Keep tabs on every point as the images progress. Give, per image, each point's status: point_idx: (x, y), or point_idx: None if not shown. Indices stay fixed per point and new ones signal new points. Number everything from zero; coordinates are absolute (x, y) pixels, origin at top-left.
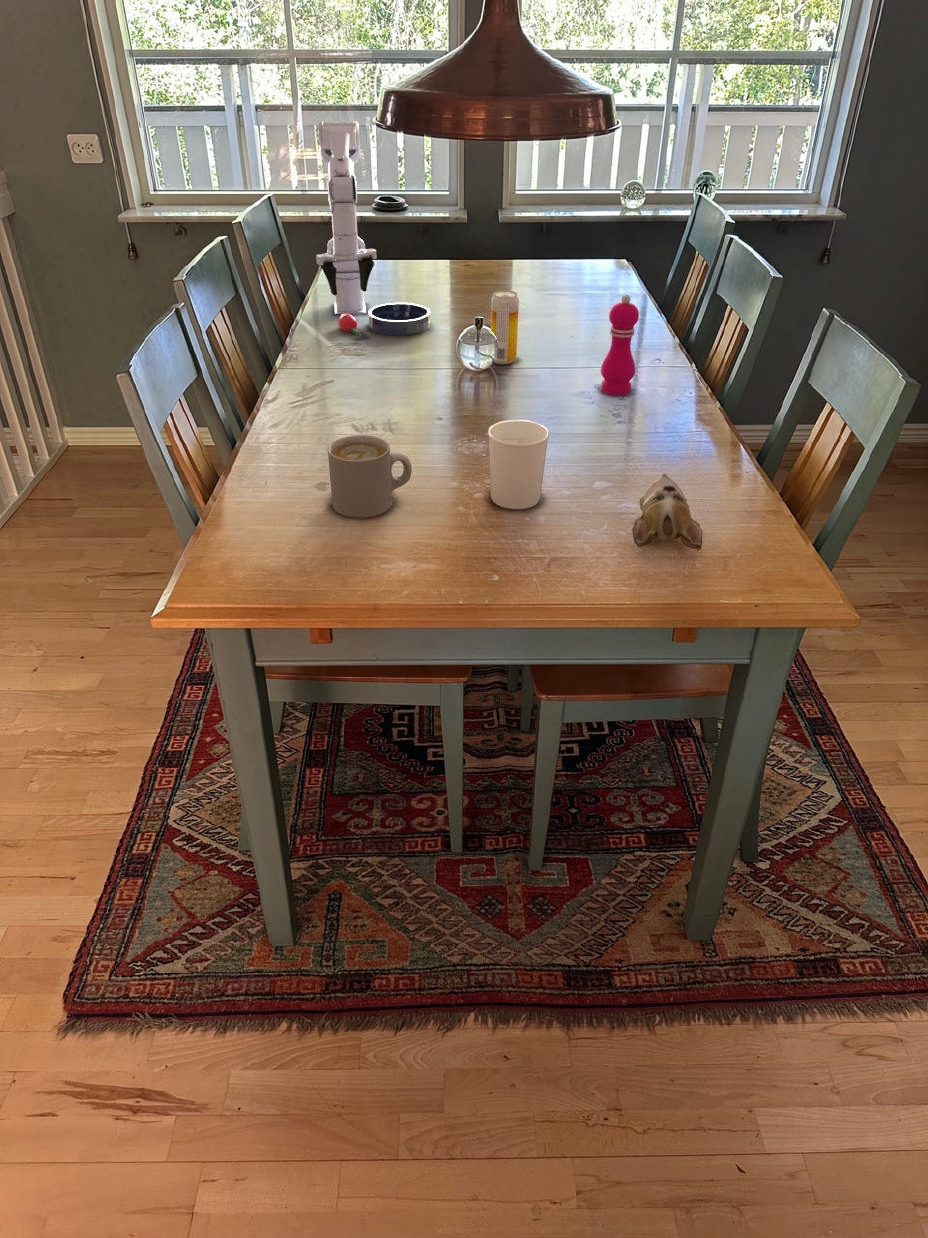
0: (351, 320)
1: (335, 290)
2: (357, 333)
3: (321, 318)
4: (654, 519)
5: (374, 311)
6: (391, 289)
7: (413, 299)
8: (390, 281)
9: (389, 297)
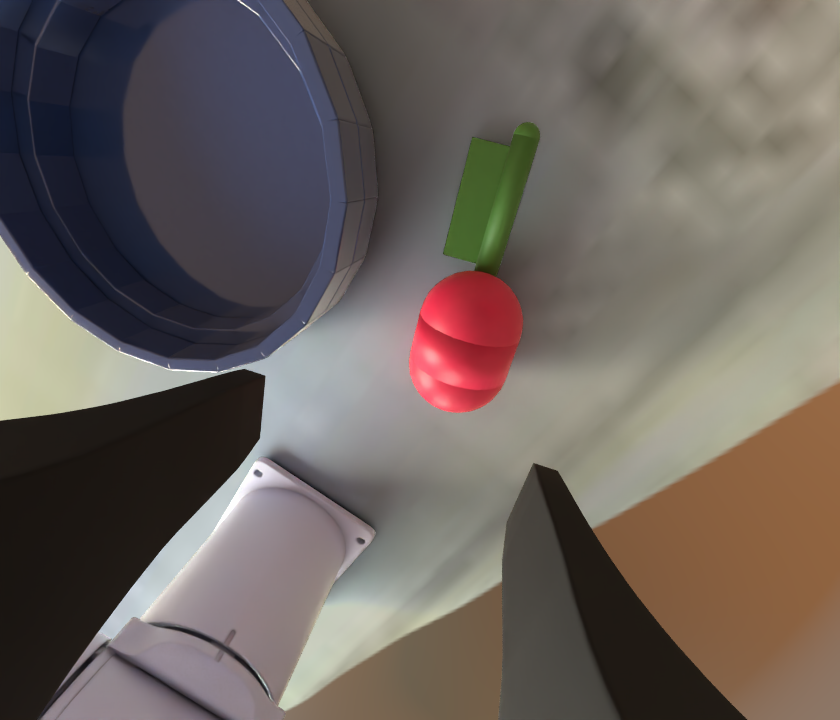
0: (475, 292)
1: (557, 490)
2: (533, 148)
3: (450, 541)
4: None
5: (258, 341)
6: None
7: None
8: None
9: None
